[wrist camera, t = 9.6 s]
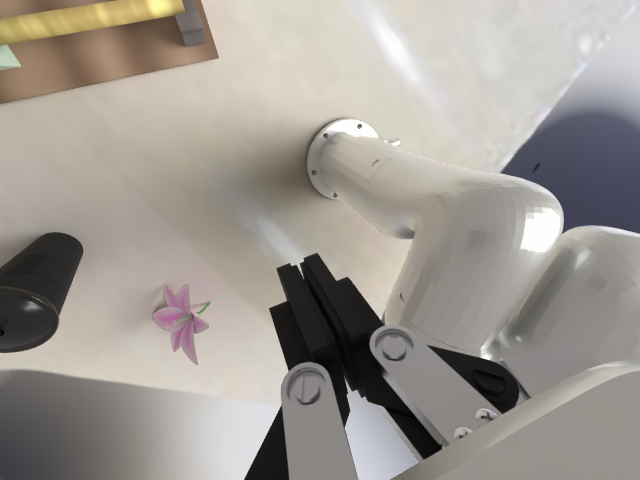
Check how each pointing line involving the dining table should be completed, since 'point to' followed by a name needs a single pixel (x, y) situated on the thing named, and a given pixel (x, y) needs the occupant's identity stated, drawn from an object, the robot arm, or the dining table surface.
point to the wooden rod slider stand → (97, 41)
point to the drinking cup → (36, 290)
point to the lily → (180, 321)
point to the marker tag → (7, 58)
